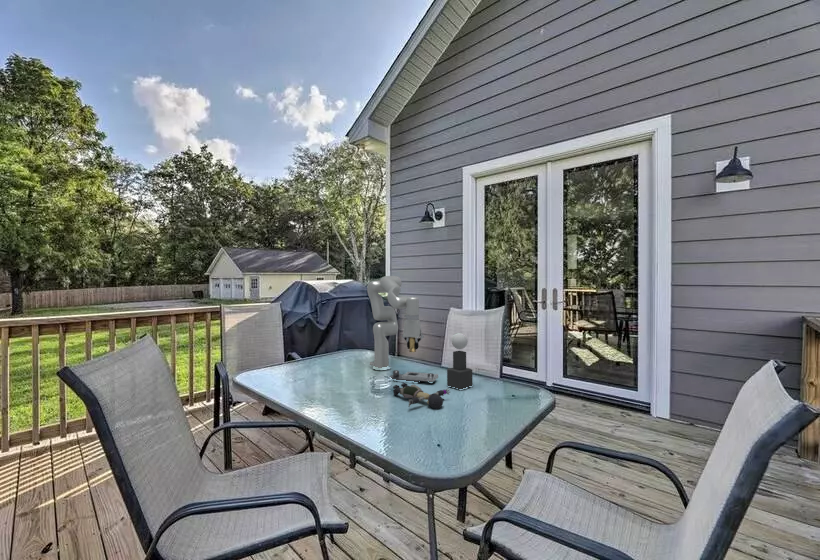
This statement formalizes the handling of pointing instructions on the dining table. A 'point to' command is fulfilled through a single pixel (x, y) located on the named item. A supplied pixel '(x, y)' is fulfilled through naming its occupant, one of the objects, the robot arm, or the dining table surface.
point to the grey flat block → (414, 376)
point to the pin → (412, 344)
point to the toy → (420, 395)
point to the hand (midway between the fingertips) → (412, 348)
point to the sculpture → (459, 365)
